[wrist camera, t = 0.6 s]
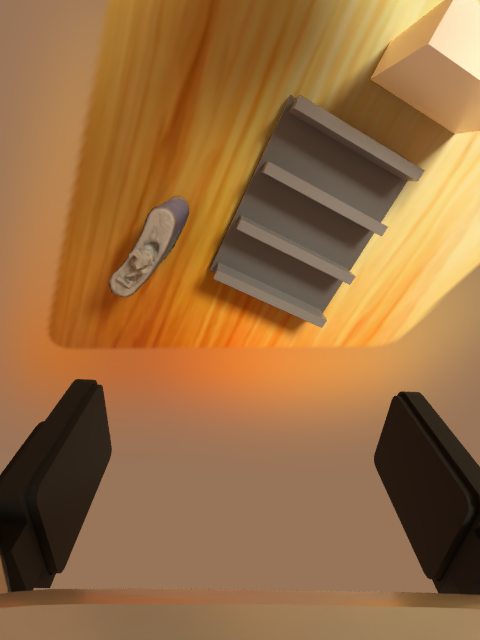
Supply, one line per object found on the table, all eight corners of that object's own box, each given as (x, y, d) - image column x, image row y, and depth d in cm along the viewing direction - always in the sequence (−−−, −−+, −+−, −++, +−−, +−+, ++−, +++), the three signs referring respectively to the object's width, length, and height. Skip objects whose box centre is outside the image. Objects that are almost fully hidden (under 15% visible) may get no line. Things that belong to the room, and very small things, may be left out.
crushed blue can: (174, 190, 34) (150, 202, 25) (198, 208, 35) (185, 226, 25) (130, 262, 37) (94, 297, 28) (153, 277, 38) (126, 316, 28)
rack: (288, 97, 31) (296, 88, 27) (409, 169, 34) (430, 170, 30) (210, 267, 38) (207, 278, 34) (316, 316, 41) (324, 331, 37)
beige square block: (390, 42, 30) (459, -12, 20) (476, 101, 32) (574, 76, 22) (370, 79, 31) (428, 43, 22) (454, 134, 33) (539, 122, 24)
